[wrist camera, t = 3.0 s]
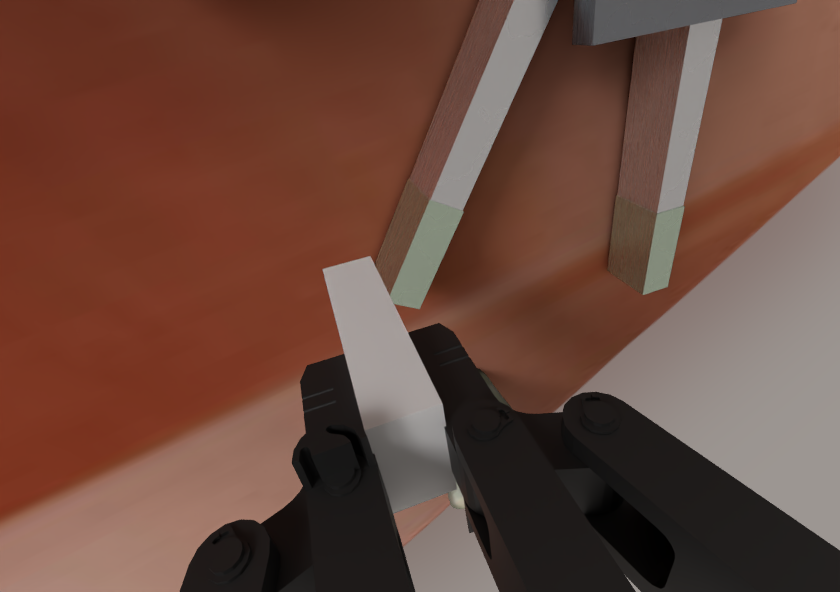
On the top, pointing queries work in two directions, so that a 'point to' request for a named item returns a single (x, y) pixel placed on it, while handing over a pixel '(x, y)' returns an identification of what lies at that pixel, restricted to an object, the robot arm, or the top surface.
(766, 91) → the top surface
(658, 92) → the base
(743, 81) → the top surface
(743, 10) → the tab
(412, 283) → the tong arm
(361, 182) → the top surface
